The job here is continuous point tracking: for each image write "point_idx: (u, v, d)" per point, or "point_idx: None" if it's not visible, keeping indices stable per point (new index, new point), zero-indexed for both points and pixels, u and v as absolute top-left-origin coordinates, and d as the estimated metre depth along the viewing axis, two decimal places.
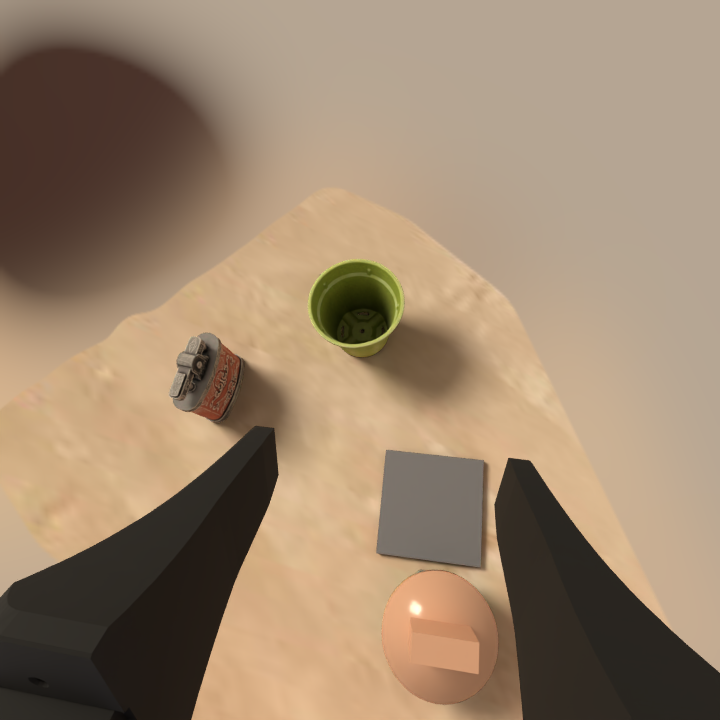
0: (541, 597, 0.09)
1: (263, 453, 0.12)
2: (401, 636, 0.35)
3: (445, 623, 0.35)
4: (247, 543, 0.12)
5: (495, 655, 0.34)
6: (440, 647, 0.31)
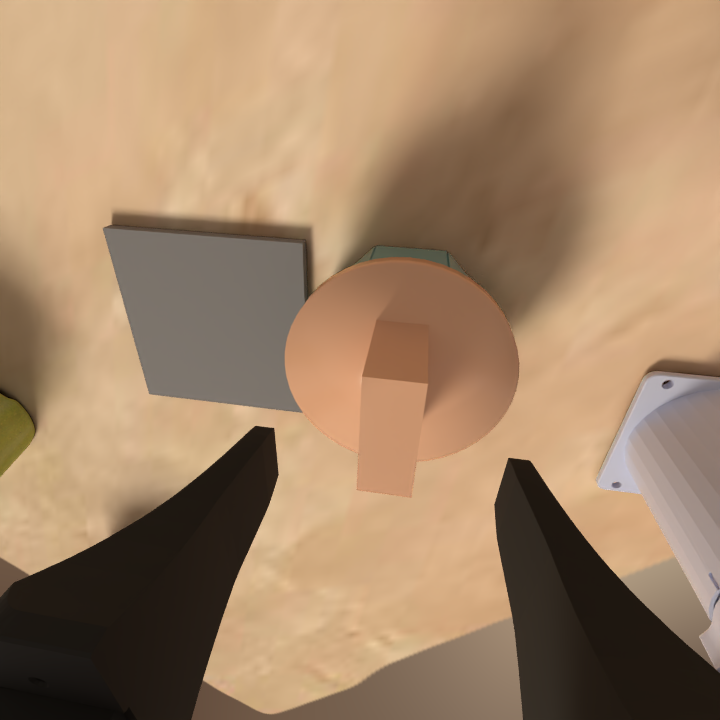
0: (541, 597, 0.09)
1: (263, 453, 0.12)
2: None
3: None
4: (247, 543, 0.12)
5: (430, 272, 0.15)
6: (379, 448, 0.14)
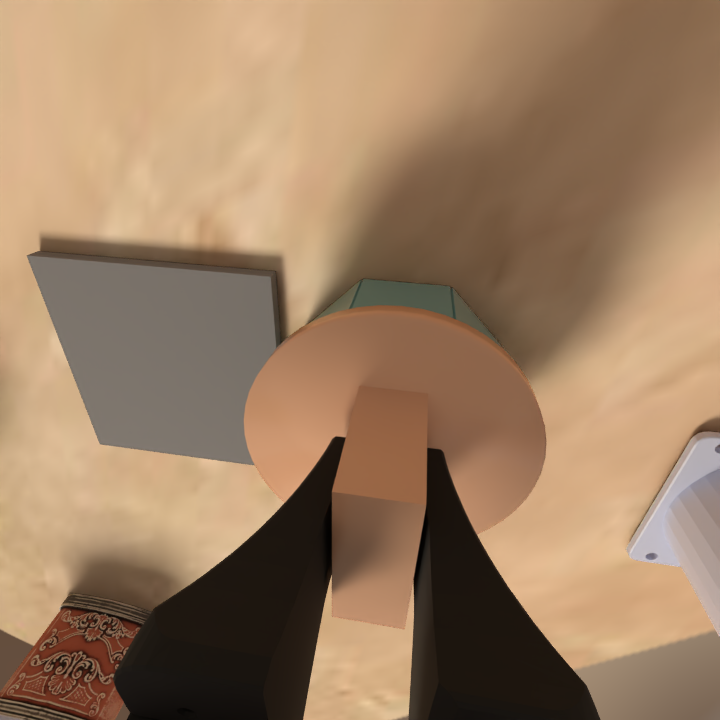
0: (423, 578, 0.09)
1: None
2: None
3: None
4: None
5: (429, 328, 0.11)
6: (360, 574, 0.10)
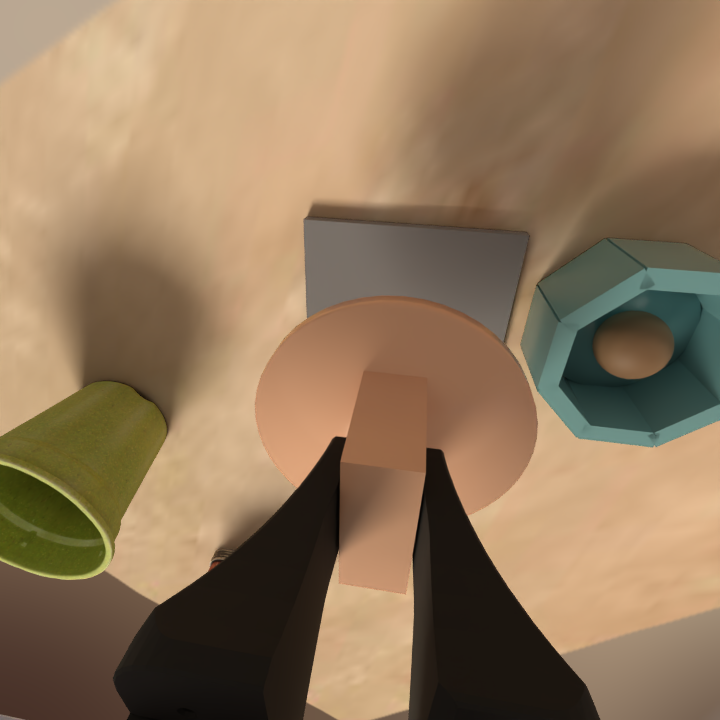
0: (423, 578, 0.09)
1: None
2: None
3: None
4: (334, 557, 0.12)
5: (428, 316, 0.12)
6: (365, 540, 0.11)
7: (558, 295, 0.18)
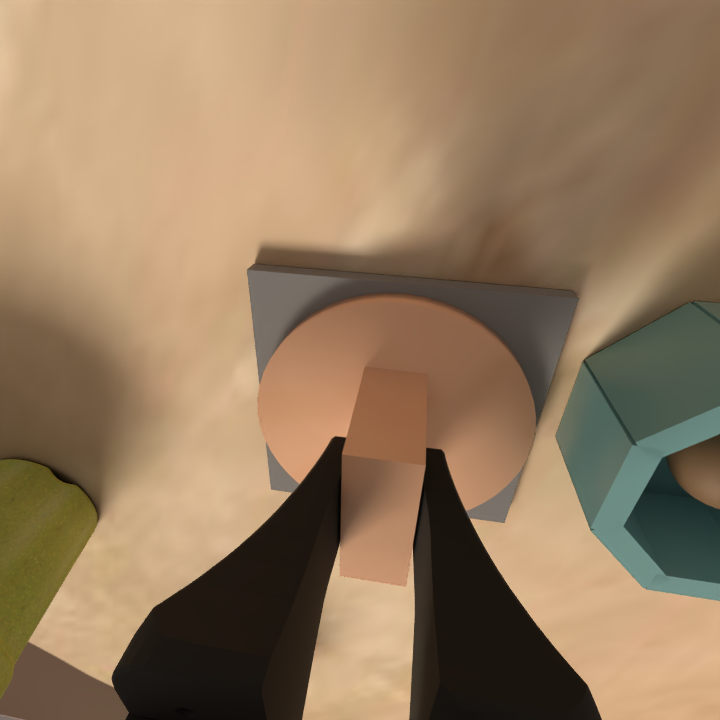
0: (424, 578, 0.09)
1: None
2: None
3: None
4: (333, 557, 0.12)
5: (429, 313, 0.12)
6: (366, 533, 0.11)
7: (624, 391, 0.12)
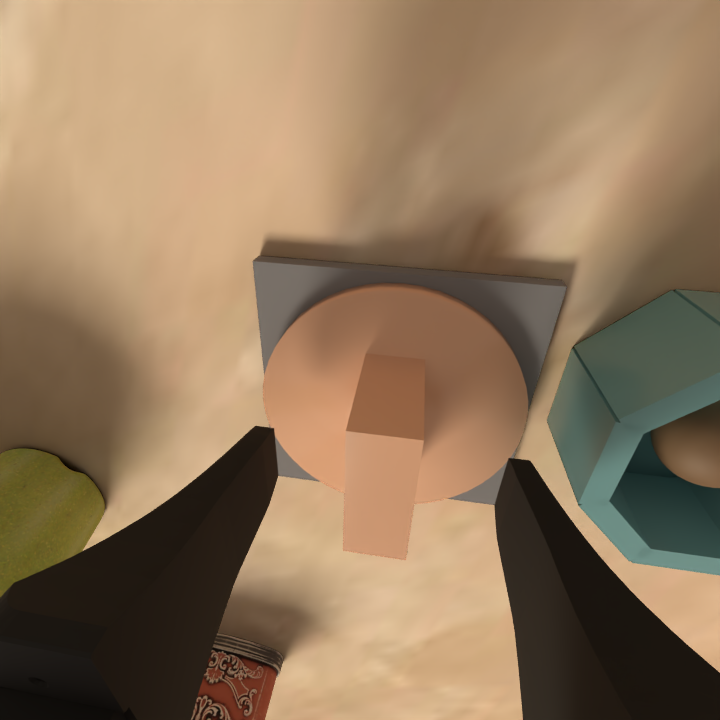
0: (541, 597, 0.09)
1: (263, 453, 0.12)
2: None
3: None
4: (247, 543, 0.12)
5: (426, 301, 0.13)
6: (367, 507, 0.12)
7: (609, 373, 0.12)
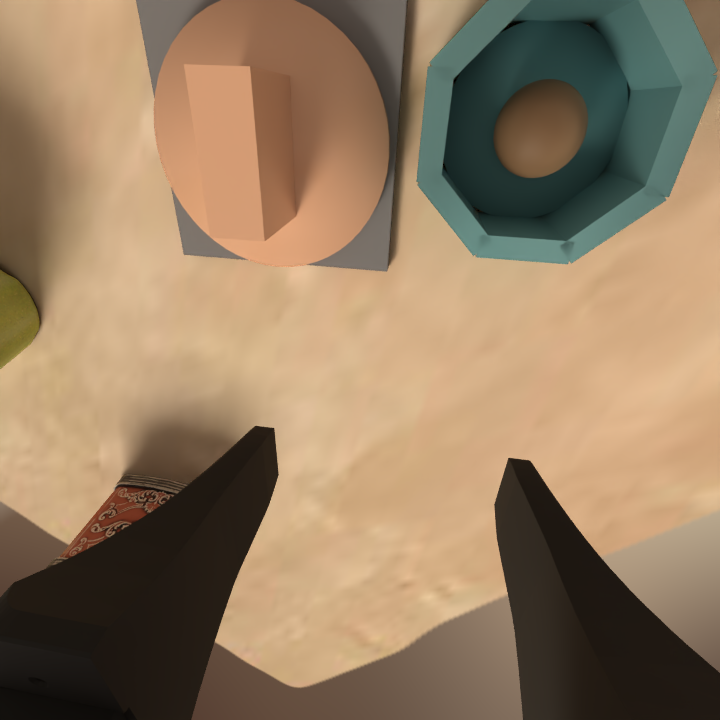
0: (541, 597, 0.09)
1: (263, 453, 0.12)
2: (286, 229, 0.18)
3: None
4: (247, 543, 0.12)
5: (281, 2, 0.14)
6: (220, 171, 0.14)
7: None
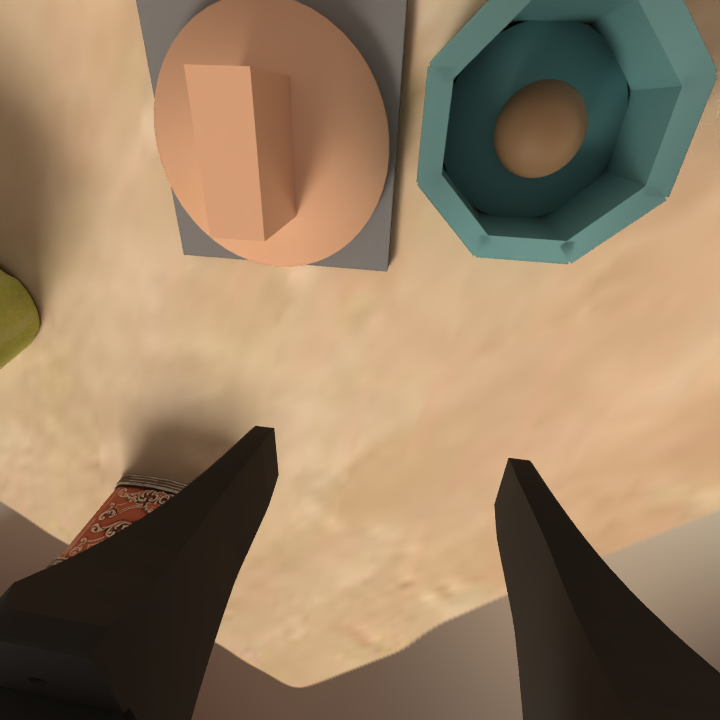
0: (541, 597, 0.09)
1: (263, 453, 0.12)
2: (286, 229, 0.18)
3: None
4: (247, 543, 0.12)
5: (281, 2, 0.14)
6: (220, 170, 0.14)
7: None
